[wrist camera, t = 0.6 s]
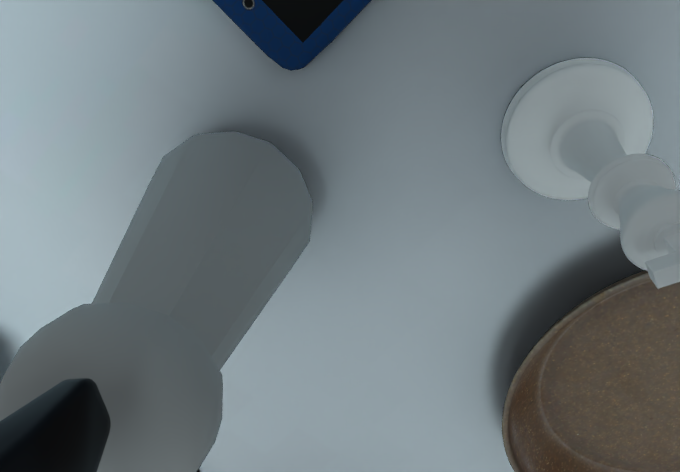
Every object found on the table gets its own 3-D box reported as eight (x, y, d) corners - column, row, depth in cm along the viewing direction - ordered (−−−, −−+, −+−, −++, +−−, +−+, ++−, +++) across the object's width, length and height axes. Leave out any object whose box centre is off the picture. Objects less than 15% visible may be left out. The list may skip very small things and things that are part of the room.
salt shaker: (143, 183, 22) (-125, 442, 11) (234, 79, 20) (18, 265, 9) (256, 277, 24) (125, 591, 12) (352, 190, 22) (301, 473, 10)
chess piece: (480, 96, 20) (548, 225, 11) (627, 30, 18) (844, 116, 9) (526, 214, 21) (617, 407, 13) (663, 162, 20) (872, 338, 11)
